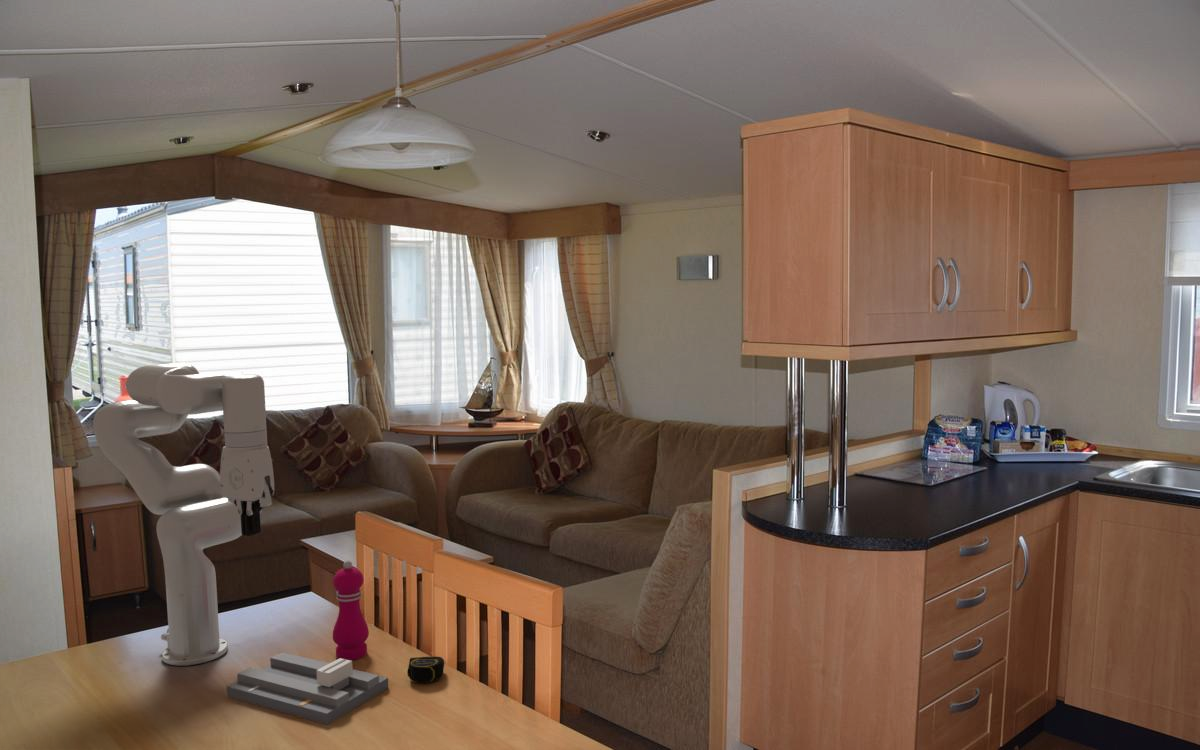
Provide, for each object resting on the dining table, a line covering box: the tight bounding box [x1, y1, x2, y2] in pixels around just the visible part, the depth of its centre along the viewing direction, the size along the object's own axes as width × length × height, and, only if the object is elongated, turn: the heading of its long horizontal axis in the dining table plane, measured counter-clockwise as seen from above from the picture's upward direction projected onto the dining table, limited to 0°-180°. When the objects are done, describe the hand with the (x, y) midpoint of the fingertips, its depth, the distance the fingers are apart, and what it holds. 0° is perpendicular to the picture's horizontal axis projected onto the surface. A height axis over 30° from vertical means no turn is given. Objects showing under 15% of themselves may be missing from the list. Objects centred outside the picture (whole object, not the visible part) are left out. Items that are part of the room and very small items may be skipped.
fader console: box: [226, 652, 389, 725], centre depth 171 cm, size 25×16×4 cm, turn 63°
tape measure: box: [407, 656, 445, 684], centre depth 176 cm, size 7×7×4 cm
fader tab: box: [316, 658, 353, 690], centre depth 168 cm, size 3×6×4 cm, turn 153°
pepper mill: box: [332, 560, 370, 661], centre depth 188 cm, size 7×7×20 cm
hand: (251, 533), depth 174 cm, fingers closed
